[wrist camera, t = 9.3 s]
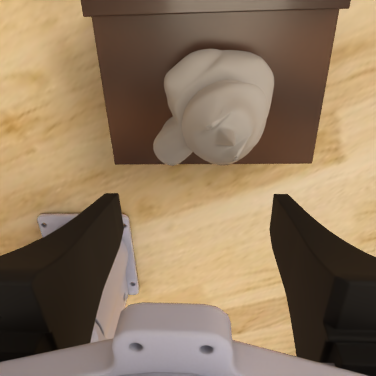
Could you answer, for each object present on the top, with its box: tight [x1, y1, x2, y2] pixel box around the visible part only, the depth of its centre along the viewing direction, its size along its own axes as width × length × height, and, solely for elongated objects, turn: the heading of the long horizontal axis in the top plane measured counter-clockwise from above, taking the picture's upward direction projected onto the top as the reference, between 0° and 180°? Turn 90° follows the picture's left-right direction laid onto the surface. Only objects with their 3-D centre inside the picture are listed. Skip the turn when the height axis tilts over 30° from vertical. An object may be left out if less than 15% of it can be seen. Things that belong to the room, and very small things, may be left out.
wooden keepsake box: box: [81, 0, 351, 164], centre depth 19 cm, size 9×12×6 cm
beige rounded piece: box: [153, 49, 274, 166], centre depth 15 cm, size 5×7×8 cm
